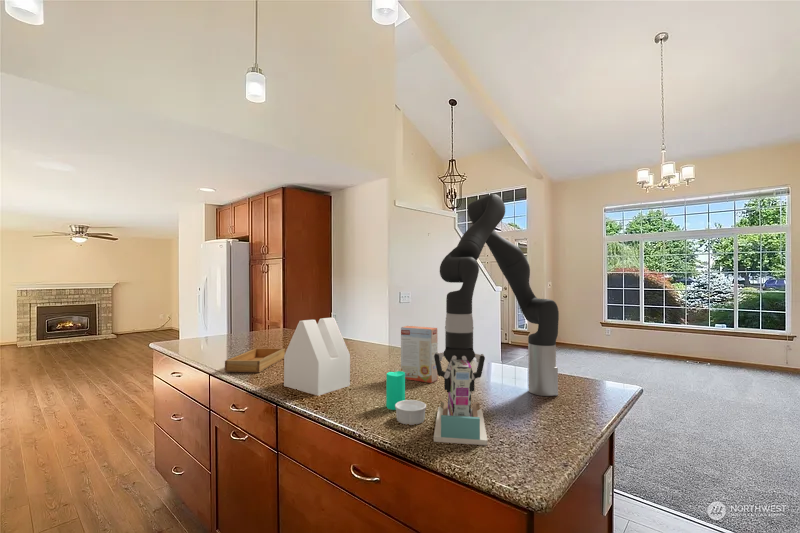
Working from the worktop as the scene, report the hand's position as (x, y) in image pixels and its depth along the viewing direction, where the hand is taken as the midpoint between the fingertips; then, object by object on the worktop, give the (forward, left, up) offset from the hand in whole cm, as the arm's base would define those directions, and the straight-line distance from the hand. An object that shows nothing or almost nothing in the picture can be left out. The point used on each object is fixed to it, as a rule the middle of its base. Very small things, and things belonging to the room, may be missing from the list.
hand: (459, 391), depth 103 cm
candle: (+20, -13, -10) cm, 26 cm away
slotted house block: (+53, -31, -10) cm, 62 cm away
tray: (+93, -59, -10) cm, 110 cm away
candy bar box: (0, -1, -7) cm, 8 cm away
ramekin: (+14, -3, -10) cm, 17 cm away
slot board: (0, -1, -10) cm, 9 cm away
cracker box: (+16, -46, -10) cm, 50 cm away
